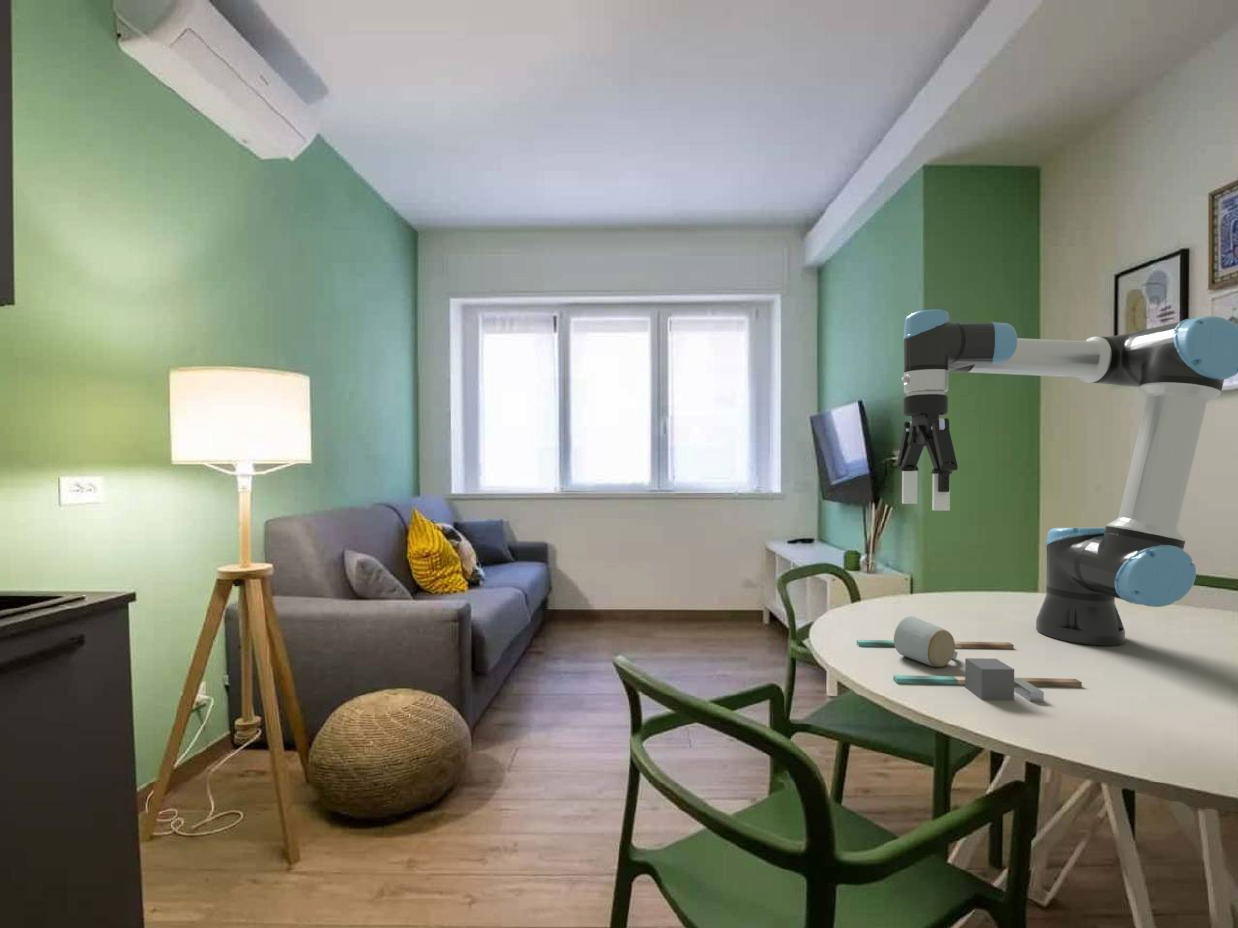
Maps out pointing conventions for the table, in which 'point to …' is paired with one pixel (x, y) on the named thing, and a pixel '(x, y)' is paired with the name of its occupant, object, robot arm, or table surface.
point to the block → (989, 679)
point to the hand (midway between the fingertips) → (924, 507)
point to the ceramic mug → (924, 642)
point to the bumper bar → (1028, 690)
